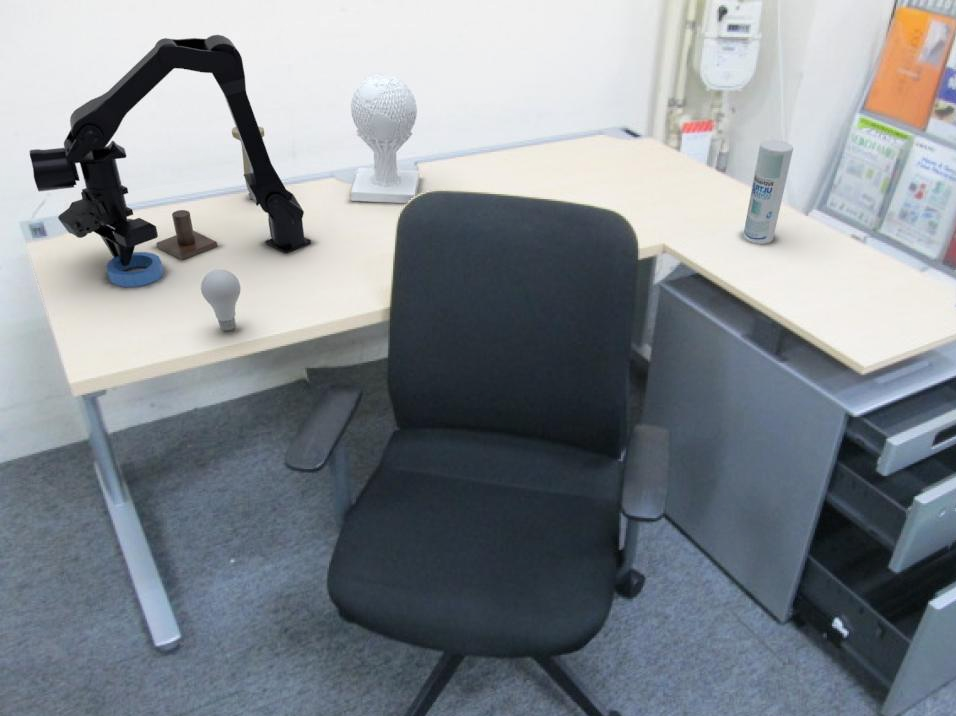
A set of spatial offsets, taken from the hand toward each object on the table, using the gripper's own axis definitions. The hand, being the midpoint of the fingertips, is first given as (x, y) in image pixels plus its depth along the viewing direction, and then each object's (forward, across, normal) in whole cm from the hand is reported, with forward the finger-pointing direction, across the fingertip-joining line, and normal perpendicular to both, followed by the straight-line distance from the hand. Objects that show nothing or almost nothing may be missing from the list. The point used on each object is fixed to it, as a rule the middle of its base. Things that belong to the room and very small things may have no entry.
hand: (123, 263), depth 169 cm
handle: (+1, -8, +37) cm, 38 cm away
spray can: (+1, +83, +95) cm, 126 cm away
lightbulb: (+1, +32, -1) cm, 32 cm away
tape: (+1, +4, 0) cm, 4 cm away
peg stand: (+1, +1, +13) cm, 13 cm away
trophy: (+1, +9, +59) cm, 60 cm away
